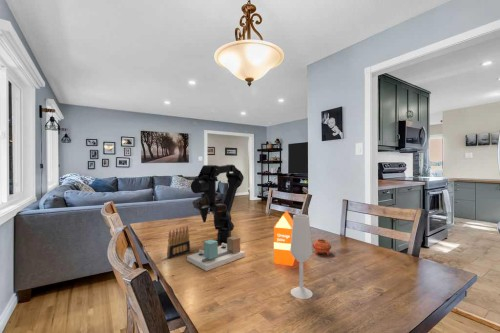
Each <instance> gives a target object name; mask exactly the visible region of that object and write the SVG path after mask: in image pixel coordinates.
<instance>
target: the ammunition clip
mask: <svg viewBox="0 0 500 333" xmlns="http://www.w3.org/2000/svg"><path fill="white" fill-rule="evenodd" d="M190 244H191V243H190V234H189V226H188V225H187V226H186V227H185V226H183V227H180V228H179V229H178V228H176V229H174V228H173V230H172V231H171V229H170V230H169V232H168V240H167V254H166V255H167V256H166V257H167V258H168V259H172V258H176V257H178V256H181V255H184V254H187V253H190V252H191V245H190Z"/></svg>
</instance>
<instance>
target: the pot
mask: <svg viewBox="0 0 500 333" xmlns="http://www.w3.org/2000/svg"><path fill="white" fill-rule="evenodd" d="M312 249H314V251H315V254H316V255H318V254H319V253H321V254H324V253H326V255H327V256H329V254H330V250H331V249H332V245H331V244H330V243H329V242H328V241H327V240H326V239H323V238H321V239H320V238H319V239H317V240H315V241H314V243H312Z"/></svg>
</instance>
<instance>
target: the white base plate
mask: <svg viewBox="0 0 500 333" xmlns="http://www.w3.org/2000/svg"><path fill="white" fill-rule="evenodd" d="M245 252H246V251H244V250H241V237H239V236H236V235H233V236H232V235H231V237H229V238H227V243H221V245H218V257H215V258H212V259H208V258H206V257H204V254H203V253H202V254H200V252H199V251H198V252H195V253H193V254H189V255H186V257H187V258H186V259H187V262H189V263H190V264H193V265H194V266H196V267H198V268H200V269H202V270H204V271H205V272H208V271H210V270H211V271H212V270H213V269H216V268H218V267H221V266H224V265H226V264H229V263H231V262H234V261H237V260H240V259H242V258H245V257H246V253H245Z"/></svg>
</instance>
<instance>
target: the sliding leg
mask: <svg viewBox="0 0 500 333" xmlns="http://www.w3.org/2000/svg"><path fill="white" fill-rule="evenodd" d="M218 243H219V242H217V241H216V240H214V239H209V240H205V241H203V249H198V253H199V252H200V254H202V253H203V254H204V257H206V258H208V259H212V258H215V257H218V246H219V244H218Z"/></svg>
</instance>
